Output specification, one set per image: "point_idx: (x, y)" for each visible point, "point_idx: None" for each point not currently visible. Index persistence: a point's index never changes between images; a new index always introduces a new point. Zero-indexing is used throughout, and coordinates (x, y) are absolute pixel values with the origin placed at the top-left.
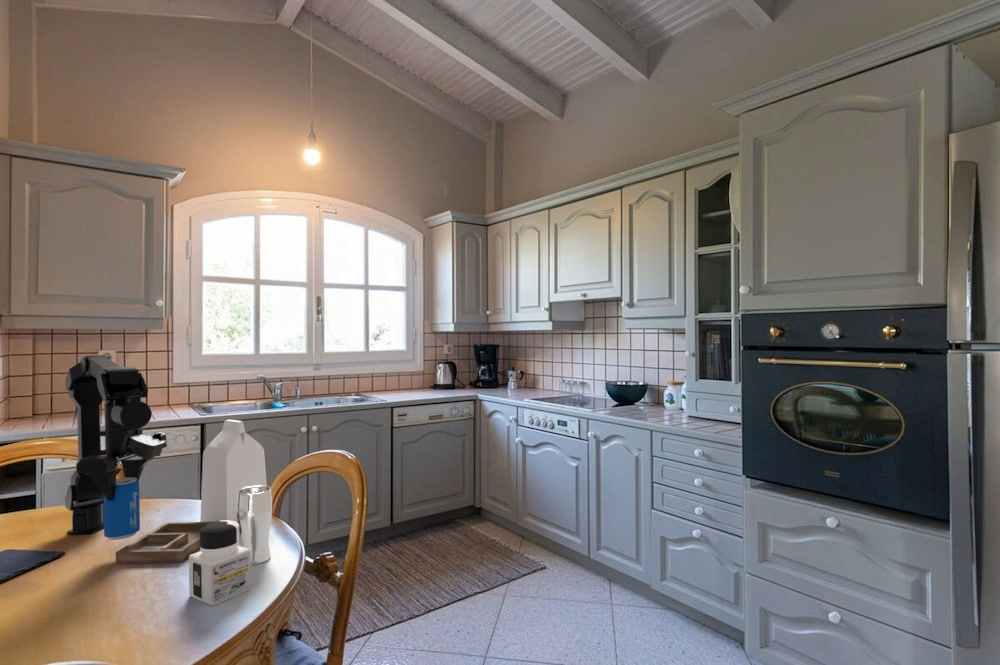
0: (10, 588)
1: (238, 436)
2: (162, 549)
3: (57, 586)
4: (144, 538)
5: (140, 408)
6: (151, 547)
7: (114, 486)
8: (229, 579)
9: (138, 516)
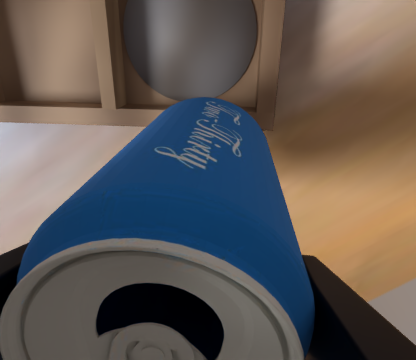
0: (388, 288)
1: None
2: None
3: (411, 189)
4: (135, 108)
5: None
6: (166, 60)
7: (371, 338)
8: None
9: (181, 111)
